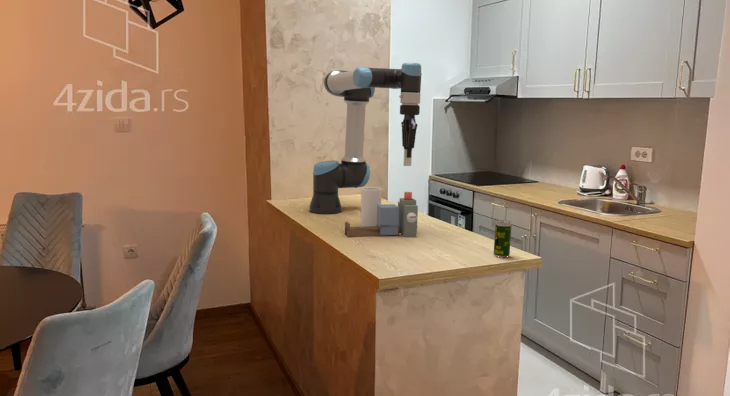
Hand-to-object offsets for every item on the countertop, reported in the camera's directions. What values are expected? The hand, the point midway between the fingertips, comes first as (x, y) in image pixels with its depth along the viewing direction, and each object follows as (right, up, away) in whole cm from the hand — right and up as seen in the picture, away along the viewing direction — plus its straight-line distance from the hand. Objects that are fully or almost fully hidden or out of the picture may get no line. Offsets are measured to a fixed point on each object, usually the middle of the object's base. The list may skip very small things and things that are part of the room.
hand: (407, 165), depth 218 cm
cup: (-14, -25, +15) cm, 32 cm away
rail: (-14, -27, 0) cm, 30 cm away
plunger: (0, -14, +1) cm, 14 cm away
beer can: (+30, -33, -26) cm, 52 cm away
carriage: (-8, -27, +1) cm, 28 cm away
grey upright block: (0, -27, +3) cm, 27 cm away
